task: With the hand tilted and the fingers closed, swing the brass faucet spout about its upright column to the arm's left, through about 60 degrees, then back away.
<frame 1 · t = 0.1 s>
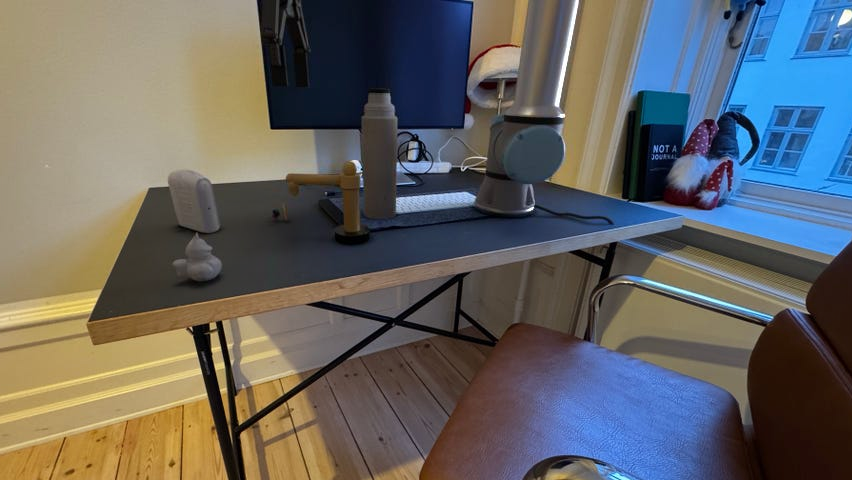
hand: (292, 87, 74), 28 cm above the table, tool pointing down, fingers open, 13 cm apart
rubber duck: (201, 280, 59), on the table
thermos bottle: (379, 214, 91), on the table
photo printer: (200, 228, 80), on the table
spout: (323, 175, 70), point 13 cm above the table, hinge at 0.0°
faucet base: (352, 238, 76), on the table
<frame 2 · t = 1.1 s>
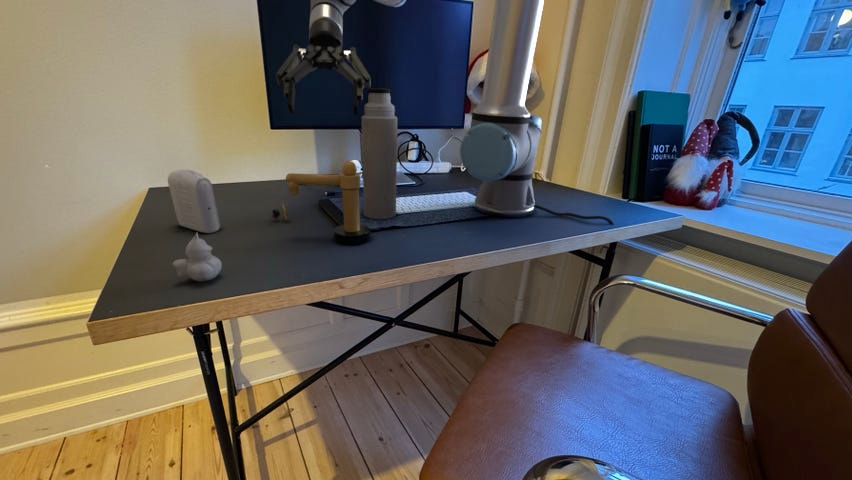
hand: (323, 109, 78), 24 cm above the table, tool tilted 45°, fingers open, 13 cm apart
nothing on the table moved.
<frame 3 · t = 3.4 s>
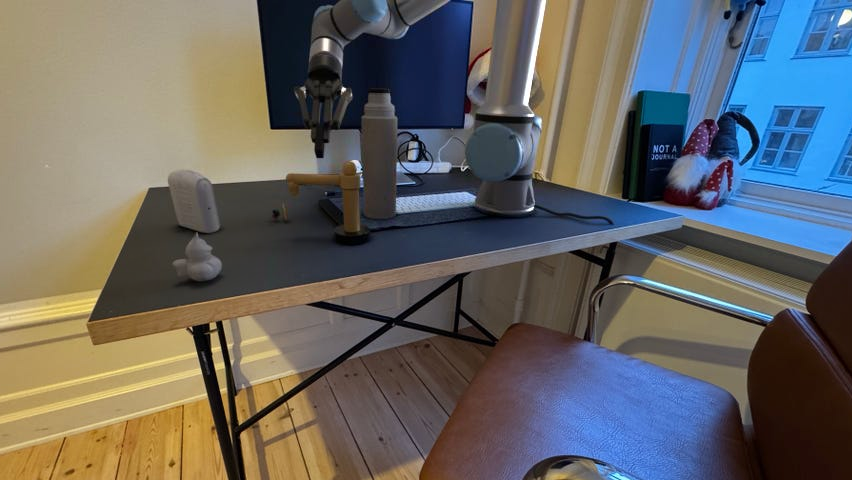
hand: (319, 154, 77), 15 cm above the table, tool tilted 45°, fingers closed
nothing on the table moved.
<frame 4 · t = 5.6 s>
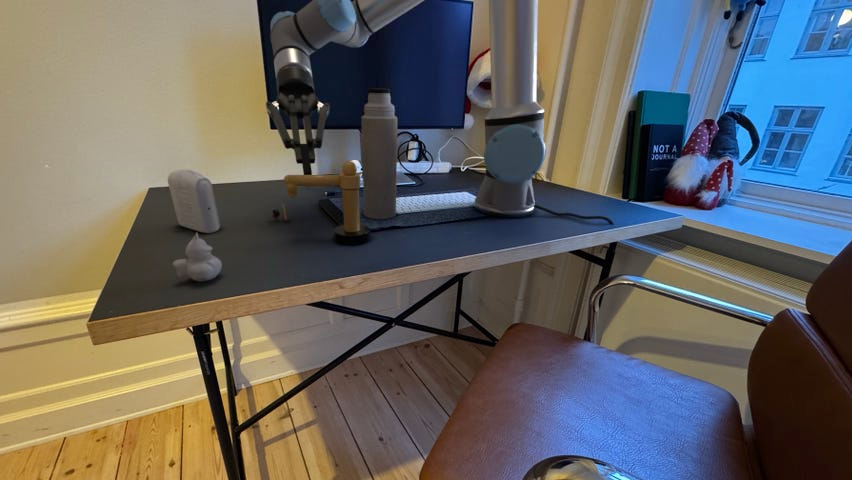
hand: (308, 176, 71), 12 cm above the table, tool tilted 45°, fingers closed
spout: (323, 176, 70), point 13 cm above the table, hinge at 6.4°, touching gripper
everything else where it was.
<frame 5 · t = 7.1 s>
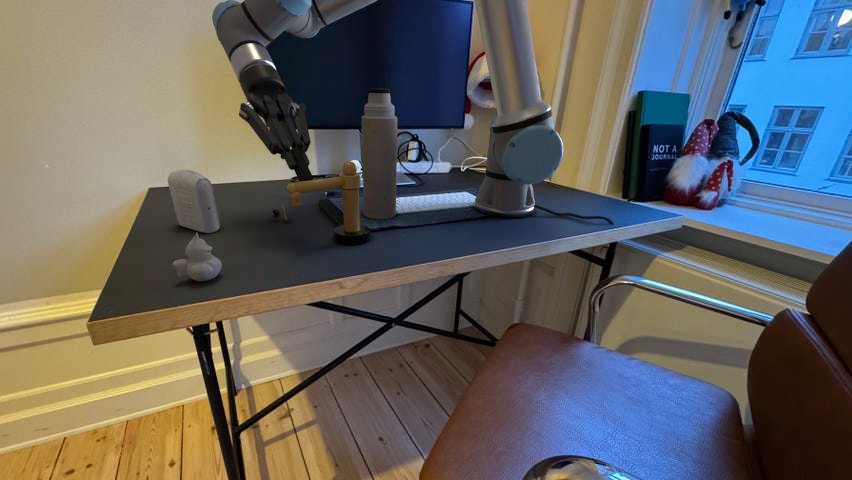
hand: (307, 182, 67), 12 cm above the table, tool tilted 45°, fingers closed
spout: (326, 179, 67), point 13 cm above the table, hinge at 40.8°, touching gripper
everything else where it was.
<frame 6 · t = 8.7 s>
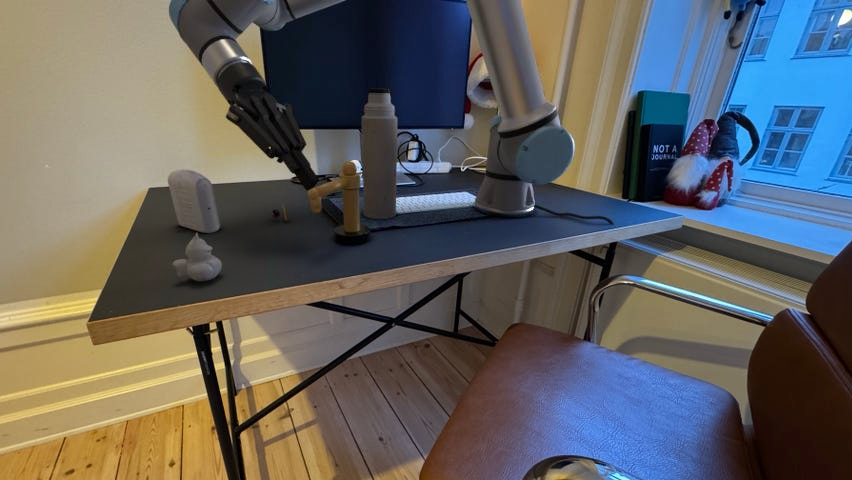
hand: (312, 185, 64), 13 cm above the table, tool tilted 45°, fingers closed
spout: (335, 181, 66), point 13 cm above the table, hinge at 68.8°
everything else where it was.
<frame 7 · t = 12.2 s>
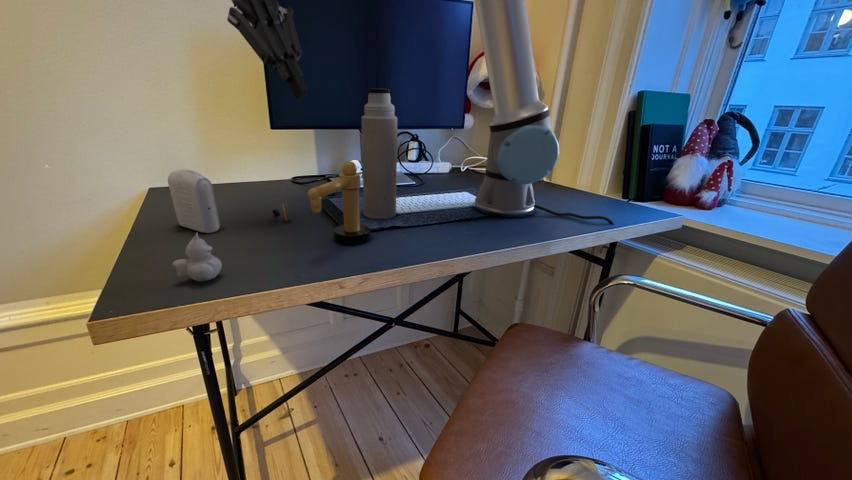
hand: (302, 95, 70), 27 cm above the table, tool tilted 35°, fingers closed
nothing on the table moved.
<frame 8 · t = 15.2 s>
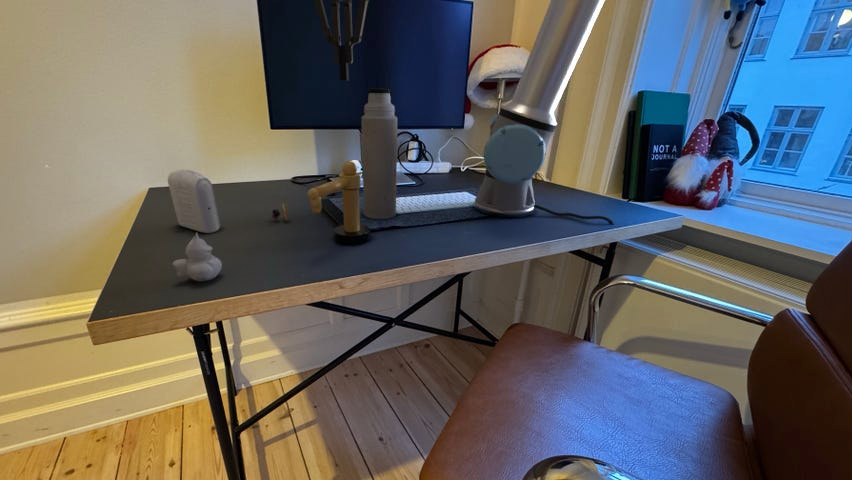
hand: (344, 80, 81), 29 cm above the table, tool pointing down, fingers closed
nothing on the table moved.
at the end: spout at +69° (first picture: +0°) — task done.
